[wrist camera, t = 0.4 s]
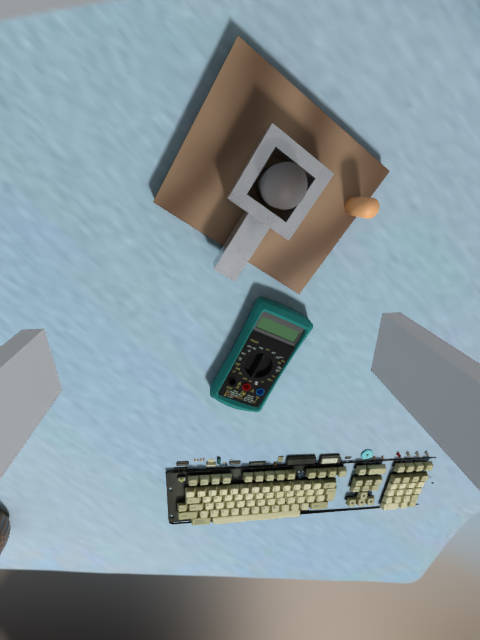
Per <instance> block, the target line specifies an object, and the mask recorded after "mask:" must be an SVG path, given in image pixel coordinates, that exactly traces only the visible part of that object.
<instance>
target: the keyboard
mask: <svg viewBox="0 0 480 640" xmlns="http://www.w3.org/2000/svg"><path fill="white" fill-rule="evenodd" d="M406 454H407V455H408V457H410V454H409V452H407V453H406ZM415 454H416V455H417V456H418V457H419V454H418V452H416V453H415ZM425 454H426V455H427V456H428V455H429V454H428V453H427V452H425ZM372 455H373V452H372V450H369V449H368V450H365V451H363V452H362V454H361V457H362V458H363V459H368V458H370V457H371V456H372ZM396 455H398V457H401V455H400V454H399V453H397V454H396ZM283 457H284V456H279V457H278V461H277V462H283ZM349 458H351V457H345V459H349ZM424 458H436V457H424ZM424 458H423V457H422V458H404V459H389V460H371V461H356V462H350V461H349V462H340V460H341V457H340V454H328V455H321V457H320V461H319V462H320V463H315V461H316V457H315V455H295V456H288V457H287V463H286V464H282V465H276V462H274V463H275V464H274V465H263V464H266V461H255V462H249V465H262V466H248V467H224V468H222V467H217V468H207V469H201V470H200V469H193V470H191V469H189V470H188V469H187V468H188V467H178V468H174V470H173V471H171V472H166V478H167V494H168V512H169V523H170V524H182V523H192V525H204V524H210V522H212V523H213V524H225V523H231V522H242V521H250V520H264V519H277V518H284V517H299V516H300V514H311V513H323V512H335V511H347V510H361V509H374V508H381V509H383V510H389V509H398V507H400V508H407V506H408V507H415V505H418V504H416V502H417V499H418V494H420V493H421V489H422V488H421V487H423V486H424V483H425V481H427V479H428V477H429V476H428V474H427V472H426V471H428V470H432V468H433V464H432V462H431V461H429V462H428V461H423V462H419V461H417V462H416V461H415V460H414V461H413V462H411V463H409V462H405V461H403V463H400V462H401V461H395V462H394V464H393V471H396V472H391V473H390V476H389V479H388V481H387V483H386V485H385V489H384V492H383V494H382V499H381V503H380V506H379V507H367V508H356V509H337V510H321V511H309V510H308V507H310V508H311V509H323V508H327V505H328V501H333V500H334V497H335V493H336V478H335V476H336V475H338V476H339V477H341V476H346V472H347V471H346V466H345V467H343V464H345V463H357V464H356V465H355V467H354V468H355V469H356V470H355V473H356V474H355V475H353V476H352V478H351V479H352V482H351V483H350V485H349V486H351V487H350V491H352V492H356V493H357V494H356V495H355V496H354V497H353V496H346V499H345V500H347V501H346V504H347V505H348V506H355V505H356V504H357V505H358V506H362V505H365V503H366V504H367V505H373V504H374V495H372V496H371V495H369V494H367V491H368V490H372V491H376V490H378V487H379V485H380V484H381V482H382V476H381V475H378V474H384V473H385V471H386V467H385V464H380V463H379V464H378V462H377V463H376V464H375V463H371V464H370V465H369V463H366V465H363V463H361V462H376V461H390V460H409V459H424ZM220 459H221V458H220V457H218V458H217V463H218V464H220ZM373 459H375V457H374V456H373ZM382 459H383V456H382ZM230 460H233V459H230ZM194 461H196V459H194ZM197 461H199V459H197ZM200 461H201V458H200ZM203 461H204V458H203ZM214 461H215V459H210V460H208V463H207V467H208V466H216V463H215V462H214ZM223 463H226V462H223ZM188 464H189V461H186V462H185V461H183V462H177V466H186V465H188ZM229 464H230V465H234V464H240V461H230V463H229ZM226 466H227V464H226ZM178 469H180V470H178ZM184 469H185V470H184ZM413 470H415V471H413ZM422 470H425V471H424V472H422ZM298 471H300V473H298ZM302 471H304V472H303V473H304V475H305V476H306V477H302V478H301V479H299V478H298V477H299V476H297V475H298V474H301V472H302ZM404 471H405V472H404ZM365 473H367V474H365ZM432 483H433V482H432ZM170 487H171V488H172V491H169V488H170ZM171 515H173V517H174V518H170V516H171ZM211 519H212V520H211ZM180 521H189V522H180ZM171 522H172V523H171ZM173 522H178V523H173Z"/></svg>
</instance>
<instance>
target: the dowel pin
mask: <svg viewBox="0 0 480 640" xmlns="http://www.w3.org/2000/svg"><path fill="white" fill-rule="evenodd" d="M344 209H345V212H346V213H347V214H348V215H352V216H357V217H362V218H367V219H369V218H372V217H374V216H375V215H376V214H377V213H378V211H379V202H378V201H377V200H376V199H375V198H368V197H350V198H349V199H348V200H347V201H346V203H345V206H344Z"/></svg>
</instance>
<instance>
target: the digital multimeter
mask: <svg viewBox="0 0 480 640" xmlns="http://www.w3.org/2000/svg"><path fill="white" fill-rule="evenodd" d="M312 328H313V324H312V323H311V322H310V320H309V319H308V318H307V317H305V316H303V315H302V314H300V313H298V312H296V311H294V310H292V309H290V308H288V307H286V306H284V305H282V304H279V303H276V302H274V301H271V300H268V299H265V298H262V297H259V298H257V300H256V302H255V304H254V306H253V308H252V310H251V312H250V314H249V316H248V318H247V320H246V323H245V325H244V327H243V329H242V331H241V333H240V335H239V337H238V338H237V340H236V342H235V344H234V346H233V348H232V350H231V352H230V353H229V355H228V357H227V359H226V360H225V362H224V364H223V366H222V367H221V369H220V371H219V372H218V374H217V376H216V377H215V379H214V380H213V382H212V384H211V385H210V395H211V397H213V398H214V399H216V400H218V401H219V402H221V403H223V404H225V405H227V406H229V407H232V408H235V409H239V410H245V411H253V412H259V411H261V409H262V407H263V406H264V404H265V402H266V400H267V398H268V396H269V395H270V393H271V391H272V389H273V388H274V386H275V384H276V383H277V381H278V379H279V377H280V376H281V374H282V373H283V371H284V369H285V368H286V366H287V365H288V363H289V362H290V360H291V359H292V357H293V355H294V354H295V353H296V351H297V350H298V348H299V347H300V345H301V344H302V342H303V341H304V340H305V338H306V337H307V335H308V334H309V332H310V331H311V330H312ZM245 342H246V343H245ZM240 351H241V352H240ZM235 360H236V361H235ZM243 363H244V364H243ZM229 371H230V372H229ZM224 380H225V381H224ZM219 389H220V390H219Z"/></svg>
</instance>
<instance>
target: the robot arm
mask: <svg viewBox="0 0 480 640" xmlns="http://www.w3.org/2000/svg"><path fill="white" fill-rule="evenodd" d="M371 371H372V372H373V373H374V374H375V375H376V376H377V377H378V379H379V380H380V381H381V382H382V383H383V384H384V385H385V386H386V387H387V388H388V390H389V391H390V392H391V393H392V394H393V395H394V396H395V397H396V398H397V400H398V401H399V402H400V403H401V404H402V405H403V406H404V407H405V408H406V410H407V411H408V412H409V413H410V414H411V415H412V416H413V417H414V418H415V420H416V421H417V422H418V423H419V424H420V425H421V426H422V427H423V428H424V429H425V431H426V432H427V433H428V434H429V435H430V436H431V437H432V438H433V439H434V441H435V442H436V443H437V444H438V445H439V446H440V447H441V448H442V449H443V451H444V452H445V453H446V454H447V455H448V456H449V457H450V458H451V459H452V460H453V462H454V463H455V464H456V465H457V466H458V467H459V468H460V469H461V470H462V472H463V473H464V474H465V475H466V476H467V477H468V478H469V479H470V480H471V482H472V483H473V484H474V485H475V486H476V487H477V488H478V489H479V490H480V364H479V363H478V362H476V361H475V360H473V359H472V358H470V357H468V356H467V355H465V354H464V353H462V352H461V351H459V350H458V349H456V348H454V347H453V346H451V345H450V344H448V343H447V342H445V341H444V340H442V339H441V338H439V337H437V336H436V335H434V334H433V333H431V332H430V331H428V330H427V329H425V328H424V327H422V326H420V325H419V324H417V323H416V322H414V321H413V320H411V319H410V318H408V317H407V316H405V315H403V314H402V313H400V312H397V313H382V318H381V323H380V328H379V333H378V338H377V343H376V348H375V353H374V358H373V362H372V367H371ZM61 391H62V387H61V384H60V381H59V377H58V374H57V370H56V367H55V364H54V360H53V357H52V353H51V350H50V347H49V343H48V340H47V336H46V333H45V330H44V329H28V330H21V331H20V332H19V333H17V334H16V335H15V336H14V337H12V338H11V339H10V340H9V341H7V342H6V343H5V344H3V345H2V346H1V347H0V479H1V477H2V476H3V475H4V473H5V472H6V470H7V469H8V467H9V466H10V464H11V463H12V462H13V460H14V459H15V457H16V456H17V454H18V453H19V452H20V450H21V449H22V447H23V446H24V444H25V443H26V442H27V440H28V439H29V437H30V436H31V434H32V433H33V431H34V430H35V429H36V427H37V426H38V424H39V423H40V421H41V420H42V419H43V417H44V416H45V414H46V413H47V411H48V410H49V409H50V407H51V406H52V404H53V403H54V401H55V400H56V398H57V397H58V396H59V394H60V393H61Z"/></svg>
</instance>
